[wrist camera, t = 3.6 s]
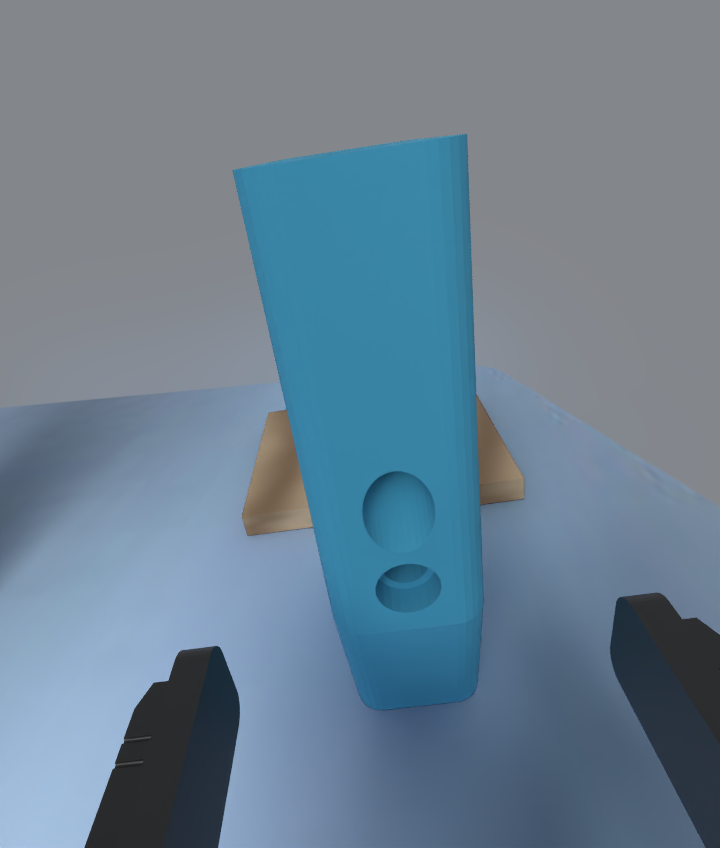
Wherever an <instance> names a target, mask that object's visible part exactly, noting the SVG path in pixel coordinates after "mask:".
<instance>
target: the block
mask: <svg viewBox="0 0 720 848" xmlns="http://www.w3.org/2000/svg"><path fill="white" fill-rule="evenodd" d="M233 175H234V179H235V183H236V188H237V192H238V196H239V201H240V205H241V210H242V215H243V218H244V223H245V228H246V232H247V236H248V241H249V245H250V250H251V254H252V259H253V263H254V267H255V272H256V276H257V281H258V285H259V290H260V294H261V298H262V303H263V307H264V312H265V316H266V321H267V325H268V329H269V334H270V338H271V342H272V347H273V352H274V356H275V360H276V364H277V369H278V374H279V378H280V383H281V387H282V391H283V396H284V400H285V405H286V409H287V414H288V418H289V422H290V427H291V431H292V436H293V440H294V444H295V449H296V453H297V458H298V462H299V467H300V471H301V475H302V480H303V484H304V489H305V493H306V498H307V502H308V506H309V511H310V515H311V520H312V524H313V529H314V533H315V537H316V542H317V546H318V551H319V555H320V559H321V564H322V568H323V573H324V577H325V582H326V586H327V590H328V595H329V599H330V604H331V608H332V613H333V617H334V620H335V623H336V626H337V629H338V632H339V635H340V638H341V641H342V644H343V647H344V650H345V653H346V656H347V659H348V662H349V665H350V668H351V671H352V674H353V677H354V680H355V683H356V686H357V689H358V692H359V695H360V697H361V699H362V701H363V702H364V703H365V704H366V705H367V706H369V707H370V708H372V709H376V710H389V709H398V708H407V707H416V706H425V705H433V704H442V703H451V702H459V701H463V700H465V699H467V698H469V697H470V696H471V695H472V694H473V693H474V691H475V689H476V687H477V681H478V668H479V654H480V641H481V627H482V613H483V572H482V544H481V516H480V488H479V459H478V431H477V403H476V374H475V347H474V319H473V292H472V291H473V290H472V262H471V236H470V235H471V233H470V206H469V177H468V149H467V134H462V135H453V136H443V137H434V138H424V139H415V140H407V141H400V142H394V143H387V144H380V145H374V146H368V147H361V148H355V149H348V150H342V151H335V152H329V153H322V154H316V155H309V156H303V157H296V158H291V159H284V160H279V161H274V162H269V163H265V164H260V165H255V166H250V167H246V168H240V169H235V170H233Z"/></svg>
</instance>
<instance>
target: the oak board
mask: <svg viewBox="0 0 720 848" xmlns="http://www.w3.org/2000/svg"><path fill="white" fill-rule="evenodd" d="M476 403H477V431H478V459H479V488H480V505H482V504H489V503H497V502H504V501H511V500H519V499H524V477H523V475H522V474H521V472H520V470H519V468H518V466H517V465H516V463H515V461H514V459H513V458H512V456H511V454H510V452H509V451H508V449H507V447H506V445H505V444H504V442H503V440H502V438H501V437H500V435H499V433H498V431H497V430H496V428H495V426H494V424H493V423H492V421H491V419H490V417H489V415H488V414H487V412H486V410H485V408H484V407H483V405H482V403H481V401H480V400H479V398H478V396H477V394H476ZM242 519H243V522H244V526H245V529H246V532H247V535H248V536H250V535H258V534H265V533H273V532H280V531H288V530H295V529H303V528H310V527H313V524H312V520H311V515H310V511H309V506H308V502H307V498H306V493H305V489H304V484H303V480H302V475H301V471H300V467H299V462H298V458H297V453H296V449H295V444H294V440H293V436H292V431H291V427H290V422H289V418H288V414H287V410H283V411H276V412H269V413H268V416H267V420H266V424H265V428H264V432H263V436H262V440H261V444H260V448H259V451H258V455H257V459H256V463H255V467H254V471H253V475H252V479H251V483H250V486H249V490H248V494H247V498H246V502H245V506H244V510H243V514H242Z"/></svg>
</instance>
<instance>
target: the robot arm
mask: <svg viewBox="0 0 720 848" xmlns="http://www.w3.org/2000/svg"><path fill="white" fill-rule="evenodd" d="M610 654H611V660H612V665H613V668H614V671H615V674H616V677H617V679H618V681H619V683H620V685H621V687H622V689H623V691H624V693H625V695H626V696H627V698H628V700H629V702H630V704H631V706H632V708H633V710H634V712H635V714H636V716H637V717H638V719H639V721H640V723H641V725H642V727H643V729H644V731H645V733H646V735H647V737H648V738H649V740H650V742H651V744H652V746H653V748H654V750H655V752H656V754H657V756H658V758H659V759H660V761H661V763H662V765H663V767H664V769H665V771H666V773H667V775H668V777H669V778H670V780H671V782H672V784H673V786H674V788H675V790H676V792H677V794H678V796H679V798H680V799H681V801H682V803H683V805H684V807H685V809H686V811H687V813H688V815H689V817H690V819H691V820H692V822H693V824H694V826H695V828H696V830H697V832H698V834H699V836H700V838H701V840H702V841H703V843H704V845H705V847H706V848H720V635H719V634H718V633H716V632H715V631H714V630H712V629H711V628H710V627H708V626H707V625H706V624H704V623H703V622H701V621H700V620H699V619H697V618H690V619H681V617H680V616H679V614H678V613H677V612H676V610H675V609H674V608H673V606H672V605H671V603H670V602H669V601H668V600H667V598H666V597H665V596H664V595H662V594H661V593H650V594H642V595H634V596H626V597H620V598H618V600H617V602H616V608H615V616H614V623H613V631H612V638H611V645H610ZM239 718H240V705H239V697H238V692H237V689H236V687H235V684H234V681H233V679H232V676H231V674H230V671H229V668H228V666H227V663H226V661H225V658H224V655H223V653H222V650H221V649H220V647H218V646H213V647H205V648H197V649H189V650H182V651H180V652H179V653H178V655H177V657H176V659H175V662H174V665H173V668H172V671H171V674H170V677H169V681H165V682H156V683H153V685H152V686H151V687H150V689H149V690H148V691H147V693H146V694H145V695H144V697H143V698H142V699H141V701H140V702H139V704H138V705H137V706H136V708H135V709H134V712H133V714H132V717H131V720H130V723H129V726H128V728H127V731H126V734H125V737H124V744H122V745H121V748H120V751H119V753H118V756H117V759H116V762H115V764H116V766H115V769H113V770H112V773H111V775H110V778H109V781H108V784H107V787H106V789H105V792H104V795H103V798H102V800H101V803H100V806H99V809H98V812H97V814H96V817H95V820H94V823H93V825H92V828H91V831H90V834H89V836H88V839H87V842H86V845H85V848H218V844H219V839H220V833H221V827H222V821H223V815H224V809H225V803H226V798H227V792H228V786H229V780H230V774H231V768H232V762H233V756H234V751H235V745H236V739H237V733H238V727H239Z"/></svg>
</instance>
